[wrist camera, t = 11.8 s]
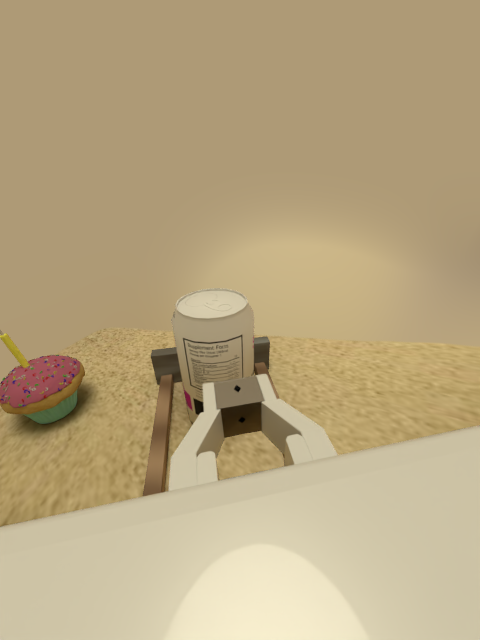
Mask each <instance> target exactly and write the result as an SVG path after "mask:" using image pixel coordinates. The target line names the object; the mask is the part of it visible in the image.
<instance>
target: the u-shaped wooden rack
mask: <svg viewBox="0 0 480 640" xmlns="http://www.w3.org/2000/svg"><path fill="white" fill-rule="evenodd" d="M269 348H270V342H269V340H268V338H267V337H258V338H254V372H255V374H256V375H260V374H267V376H268V378H269V381H270V383H271V385H272V388H273V390H274V393H275V395H276V398H277V399H279V396H278V394H277V391H276V389H275V387H274V384H273V382H272V380H271V377H270V375H269V372H268V370H267V369H269ZM151 359H152V363H153V367H154V371H155V376H156V380H157V384H160V387H159V394H158V400H157V407H156V413H155V420H154V426H153V433H152V440H151V446H150V453H149V459H148V466H147V472H146V479H145V485H144V492H143V496H148V495H152V494H157V493H162V492H165V480H166V468H167V456H168V444H169V432H170V420H171V409H172V397H173V385H174V382H179V381H182V376H181V371H180V365H179V360H178V354H177V349H176V347H174V348H166V349H157V350H152V354H151ZM283 455H284V454H283ZM284 458H285V455H284Z"/></svg>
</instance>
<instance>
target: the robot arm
mask: <svg viewBox="0 0 480 640" xmlns="http://www.w3.org/2000/svg"><path fill="white" fill-rule="evenodd" d="M202 389H203V406H204V412H201V413H200V414H199V416H198V417H197V419H196V420H195V422H194V423H193V425H192V427H191V428H190V430H189V431H188V433H187V434H186V436H185V437H184V439H183V440H182V442H181V443H180V445H179V446H178V448H177V449H176V451H175V452H174V454H173V456H172V457H171V466H170V479H169V491H167V492H162V493H157V494H152V495H148V496H143V497H138V498H134V499H129V500H124V501H119V502H115V503H110V504H105V505H101V506H96V507H91V508H86V509H82V510H77V511H72V512H68V513H63V514H58V515H53V516H49V517H44V518H39V519H34V520H30V521H25V522H20V523H16V524H11V525H6V526H1V527H0V640H480V425H478V426H473V427H468V428H464V429H459V430H454V431H449V432H445V433H440V434H435V435H431V436H426V437H421V438H416V439H412V440H407V441H402V442H398V443H393V444H388V445H383V446H379V447H374V448H369V449H365V450H360V451H355V452H350V453H346V454H341V455H338V454H337V453H336V451H335V449H334V447H333V445H332V443H331V442H330V440H329V438H328V436H327V434H326V432H325V430H324V429H323V428H322V427H321V426H319V425H318V424H316V423H315V422H313V421H312V420H310V419H309V418H308V417H306V416H305V415H303V414H302V413H300V412H299V411H297V410H296V409H294V408H293V407H292V406H290V405H289V404H287V403H286V402H284V401H283V400H281V399H277V398H276V395H275V393H274V390H273V388H272V385H271V383H270V381H269V378H268V376H267V374H260V375H256V376H249V377H243V378H237V379H231V380H224V381H217V382H211V383H204V384H203V385H202ZM257 431H262V432H263V433H264V434H265V435H266V436H267V437H268V438H269V439H270V440H271V442H272V443H273V444H274V445H275V446H276V447H277V448H278V449H279V450H280V451H281V452H282V453H283V454H284V455H285V459H284V467H280V468H275V469H271V470H266V471H261V472H256V473H252V474H247V475H242V476H238V477H233V478H228V479H223V480H219V475H218V469H217V462H216V458H217V456H218V453H219V451H220V448H221V446H222V444H223V441H224V438H226V437H230V436H235V435H239V434H244V433H251V432H257Z"/></svg>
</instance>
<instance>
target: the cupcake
mask: <svg viewBox="0 0 480 640" xmlns="http://www.w3.org/2000/svg"><path fill="white" fill-rule="evenodd" d="M0 334H1V336H0V338H1V339H2V341H3V342H4V343H5V344H6V346H7V347H8V348H9V350H10V351H11V352H12V354H13V355H14V356H15V358H16V359H17V360H18V362H19V363H20V364H21V365H20V366H18V367H16V368H14V370H12V371H10V373H9V374H8V376H7V377H6V378H3V381H2V382H1V383H0V405H1V407H2V408H3V410H4V411H5V412H7V413H11V414H23V415H25V416H27V417H29V418H31V419H32V420H34V421H35V422H37V423H40V424H47V423H52V422H55V421H57V420H59V419H61V418H63V417H65V416H66V415H68V414H69V413H70V412H71V411H72V410H73V409H74V408H75V406H76V404H77V388H78V387H79V385H80V384H81V382H82V378H83V377H84V375H85V370H84V367H83V365H82V364H81V362H79V361H78V360H77V359H76V358H72V357H71V358H70V357H69V356H59V355H50V356H42V357H40V358H37V359H33V360H30V361H28V362H27V360H26V359H25V358H24V357H23V355H22V354H21V352H20V351H19V350H18V348H17V347H16V345H15V344H14V343H13V341H12V340H11V339H10V337H9V336H8V335H7V334H3V333H2V332H1V331H0Z"/></svg>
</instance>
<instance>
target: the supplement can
mask: <svg viewBox="0 0 480 640" xmlns="http://www.w3.org/2000/svg"><path fill="white" fill-rule="evenodd" d="M171 321H172V327H173V332H174V338H175V343H176V349H177V354H178V360H179V365H180V371H181V376H182V382H183V387H184V393H185V398H186V404H187V409H188V414H189V418H190V420H191V421H192V423H194V422H195V420H196V419H197V417H198V416H199V414H200V413H201V412H204V406H203V389H202V385H203V384H204V383H211V382H217V381H224V380H231V379H237V378H243V377H249V376H254V314H253V310H252V308H251V307H250V305H249V303H248V302H247V298H246V297H245V296H244V295H243V294H242V293H240V292H237V291H235V290H230V289H220V288H214V289H203V290H199V291H194V292H191V293H189V294H186V295H184V296H183V297H181V298H180V299H179V300H178V301H177V303H176V309H175V312H174V314H173V317H172V319H171Z"/></svg>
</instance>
